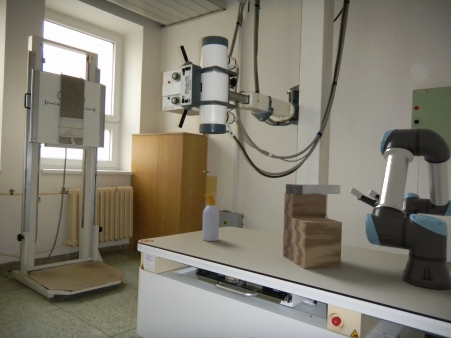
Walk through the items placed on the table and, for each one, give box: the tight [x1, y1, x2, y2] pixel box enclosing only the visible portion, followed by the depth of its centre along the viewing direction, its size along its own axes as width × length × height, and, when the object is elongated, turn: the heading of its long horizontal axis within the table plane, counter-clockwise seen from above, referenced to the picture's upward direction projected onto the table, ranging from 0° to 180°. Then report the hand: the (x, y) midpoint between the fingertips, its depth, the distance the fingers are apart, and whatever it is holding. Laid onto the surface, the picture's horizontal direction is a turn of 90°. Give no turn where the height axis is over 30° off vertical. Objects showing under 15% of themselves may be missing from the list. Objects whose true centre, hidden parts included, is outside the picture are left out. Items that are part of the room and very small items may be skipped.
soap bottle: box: [201, 193, 220, 242], centre depth 183 cm, size 9×9×24 cm
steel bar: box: [285, 183, 341, 195], centre depth 153 cm, size 8×26×4 cm, turn 116°
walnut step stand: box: [282, 192, 343, 270], centre depth 145 cm, size 20×16×28 cm
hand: (359, 190), depth 158 cm, fingers open, 13 cm apart
